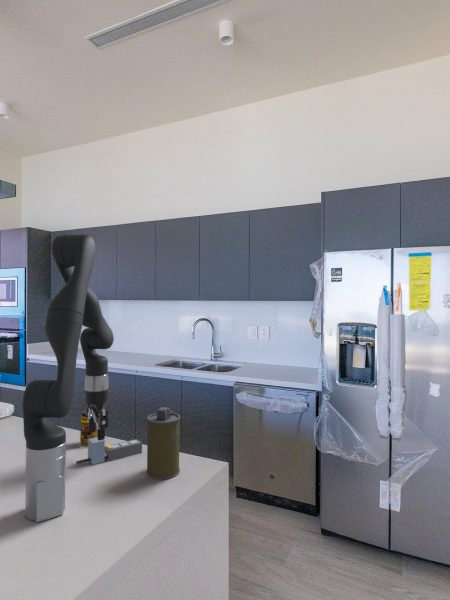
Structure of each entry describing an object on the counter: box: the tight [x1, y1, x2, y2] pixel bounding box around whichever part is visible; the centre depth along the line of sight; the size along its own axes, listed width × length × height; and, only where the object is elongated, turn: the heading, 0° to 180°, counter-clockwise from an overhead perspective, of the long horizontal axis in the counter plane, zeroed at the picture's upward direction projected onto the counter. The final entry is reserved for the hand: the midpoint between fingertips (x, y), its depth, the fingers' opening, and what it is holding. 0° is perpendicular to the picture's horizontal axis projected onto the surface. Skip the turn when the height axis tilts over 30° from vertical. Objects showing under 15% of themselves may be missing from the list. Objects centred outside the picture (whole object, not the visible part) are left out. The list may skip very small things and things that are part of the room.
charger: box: [75, 437, 107, 465], centre depth 126 cm, size 4×10×7 cm, turn 128°
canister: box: [145, 406, 181, 480], centre depth 120 cm, size 11×10×20 cm
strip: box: [104, 439, 143, 462], centre depth 133 cm, size 4×12×4 cm, turn 128°
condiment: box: [76, 410, 98, 449], centre depth 144 cm, size 7×8×12 cm
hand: (96, 435), depth 128 cm, fingers open, 8 cm apart
